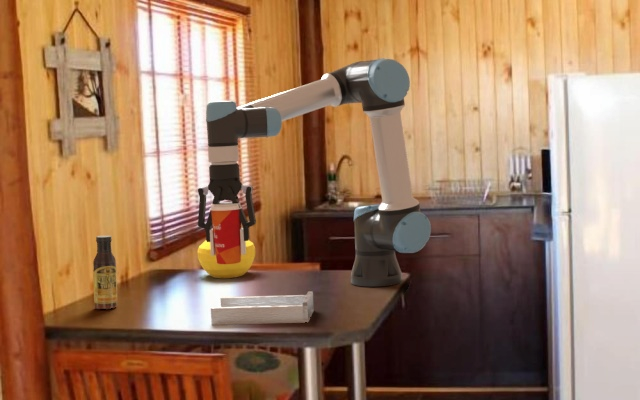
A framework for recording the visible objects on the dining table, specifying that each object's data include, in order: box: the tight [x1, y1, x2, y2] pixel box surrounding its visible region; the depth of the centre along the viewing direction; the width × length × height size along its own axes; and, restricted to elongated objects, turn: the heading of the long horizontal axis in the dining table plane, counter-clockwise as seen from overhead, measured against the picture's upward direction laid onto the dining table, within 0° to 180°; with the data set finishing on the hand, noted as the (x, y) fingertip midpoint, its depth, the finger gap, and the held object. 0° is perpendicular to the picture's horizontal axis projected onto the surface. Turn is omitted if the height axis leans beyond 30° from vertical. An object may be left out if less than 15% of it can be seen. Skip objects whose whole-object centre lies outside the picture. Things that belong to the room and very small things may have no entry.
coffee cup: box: [209, 201, 243, 264], centre depth 236 cm, size 8×8×15 cm
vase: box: [197, 239, 256, 279], centre depth 299 cm, size 18×18×19 cm
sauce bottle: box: [92, 235, 118, 310], centre depth 257 cm, size 6×6×20 cm
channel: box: [210, 290, 315, 326], centre depth 237 cm, size 24×13×5 cm, turn 85°
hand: (228, 254), depth 236 cm, fingers closed on coffee cup, 7 cm apart
